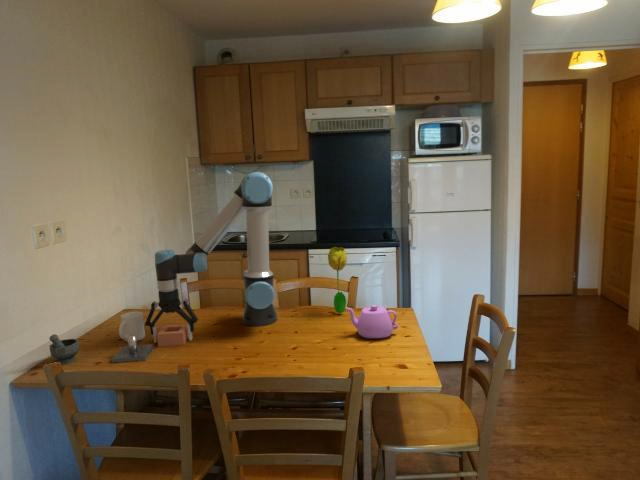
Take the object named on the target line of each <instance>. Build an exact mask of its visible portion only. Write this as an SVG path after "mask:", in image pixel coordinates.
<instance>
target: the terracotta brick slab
mask: <svg viewBox="0 0 640 480" xmlns="http://www.w3.org/2000/svg"><path fill="white" fill-rule="evenodd" d="M188 324H189V323H187V324H186V323H185V324H171V325H170V324H169V325H163V326H162V327H161V328H160V330H159V331H157V341H158V342H157V347H158V346H162V347H171V346H185V344H186V343H187V341H188V340H189V334H188Z"/></svg>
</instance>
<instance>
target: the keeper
mask: <svg viewBox="0 0 640 480" xmlns="http://www.w3.org/2000/svg"><path fill="white" fill-rule="evenodd" d="M127 339H128V342H127V346H122V347H121V348H120V349H119V350H118V351H117V352H116V353H115V355H113V356H112V357H111V359H110V360H111V363H112V364H116V363H115V362H119V363H126V362H125V361H132V362H136V361H135V360H145V361H146V360H147V359H148V358H149V356H150V355H151V354H152V352H153V351H154V350H155V349H156V345H155V343H153V344H141V345H138V341H137V340H136V335H129V336H127ZM153 349H154V350H153ZM152 350H153V351H152ZM150 353H151V354H150ZM149 354H150V355H149ZM147 357H148V358H147ZM146 358H147V359H146Z"/></svg>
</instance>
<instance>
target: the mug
mask: <svg viewBox="0 0 640 480" xmlns="http://www.w3.org/2000/svg"><path fill="white" fill-rule="evenodd" d="M143 314H144V313H143V312H142V311H129V312H126V313H123V314H121V315H120V320H121V321H120V322H121V323H120V325H119V327H118V334H119V337H120V338H121V339H122V340H124V342H126V341H127V342H126V343H128V339H127V336H129V335H136V340H137V342H139V341H142V340H143V339H144V338H145V337H146V332H145V322H144V315H143ZM138 340H139V341H138Z"/></svg>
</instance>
